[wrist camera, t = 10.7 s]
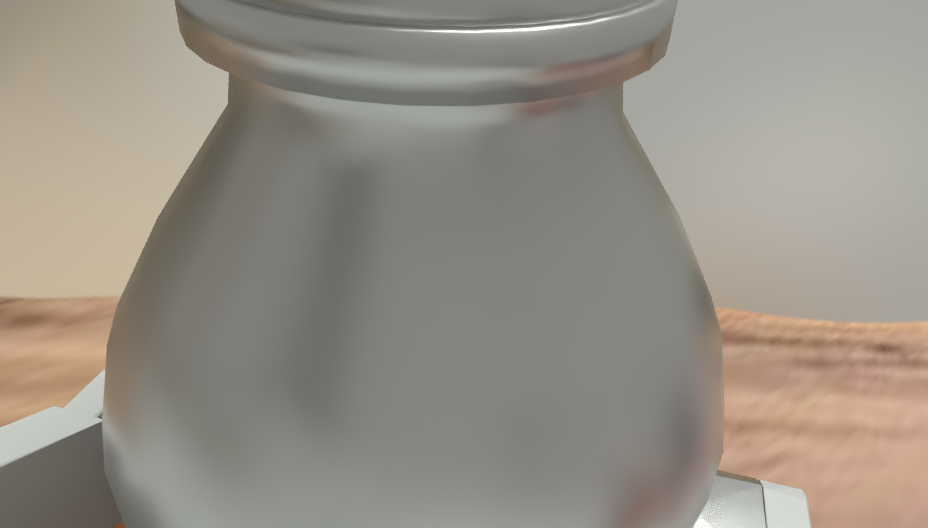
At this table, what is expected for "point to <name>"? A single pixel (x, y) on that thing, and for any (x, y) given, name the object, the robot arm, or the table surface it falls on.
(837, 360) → the table surface
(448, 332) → the silver metal bottle
